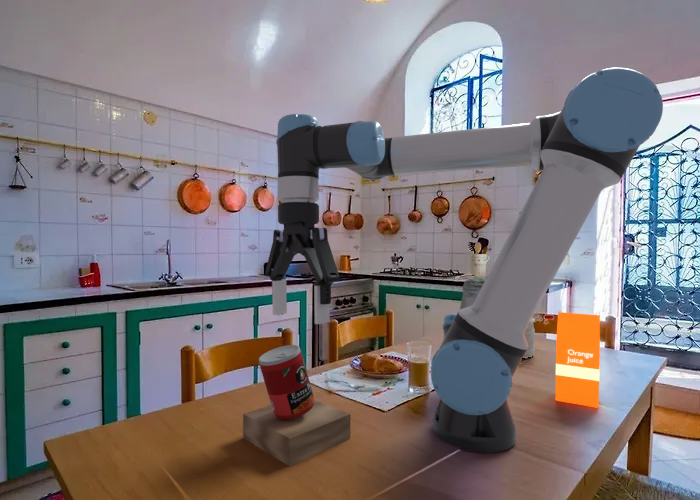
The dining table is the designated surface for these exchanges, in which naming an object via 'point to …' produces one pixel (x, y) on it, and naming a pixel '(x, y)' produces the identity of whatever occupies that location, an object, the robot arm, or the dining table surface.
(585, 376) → the orange juice
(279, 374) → the canned food
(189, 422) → the dining table surface
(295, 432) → the walnut block
